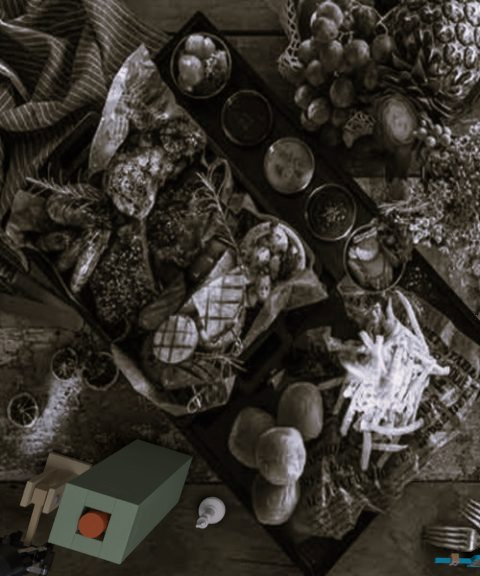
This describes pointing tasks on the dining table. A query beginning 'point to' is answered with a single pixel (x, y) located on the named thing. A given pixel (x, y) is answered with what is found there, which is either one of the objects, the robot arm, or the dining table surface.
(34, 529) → the lever
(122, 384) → the dining table surface
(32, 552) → the robot arm
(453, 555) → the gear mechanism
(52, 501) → the switch bracket
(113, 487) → the button post
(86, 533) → the button
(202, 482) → the dining table surface
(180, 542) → the dining table surface
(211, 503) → the chess piece
